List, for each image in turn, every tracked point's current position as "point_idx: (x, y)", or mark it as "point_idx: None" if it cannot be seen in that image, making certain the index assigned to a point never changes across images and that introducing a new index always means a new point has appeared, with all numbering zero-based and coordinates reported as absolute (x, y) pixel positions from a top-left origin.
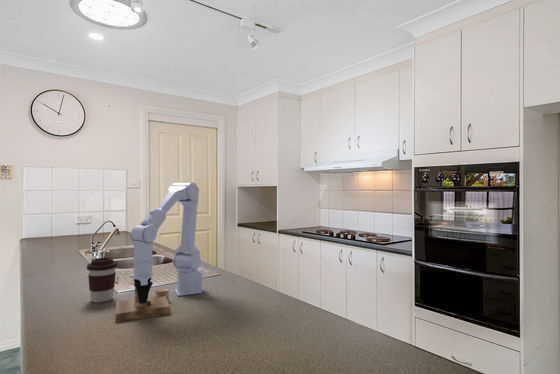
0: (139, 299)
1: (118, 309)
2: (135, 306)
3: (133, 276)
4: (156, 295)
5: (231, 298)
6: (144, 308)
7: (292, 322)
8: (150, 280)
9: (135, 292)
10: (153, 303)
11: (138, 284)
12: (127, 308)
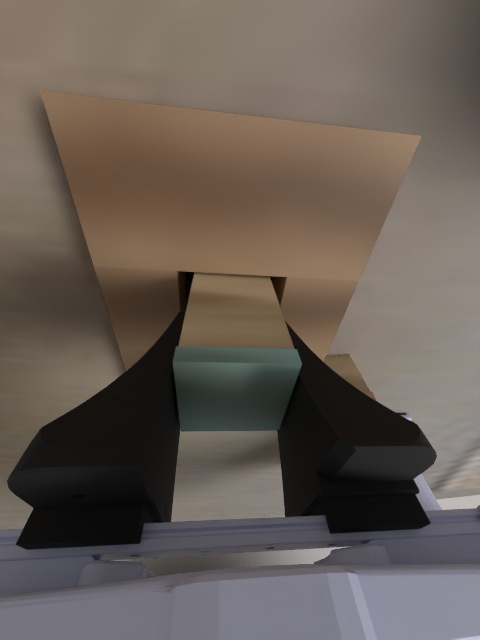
0: (168, 330)
1: (174, 136)
2: (193, 277)
3: (165, 635)
4: (350, 378)
5: (219, 485)
6: (137, 319)
7: (24, 516)
8: (284, 499)
9: (177, 349)
10: None
11: (19, 489)
12: (175, 220)
